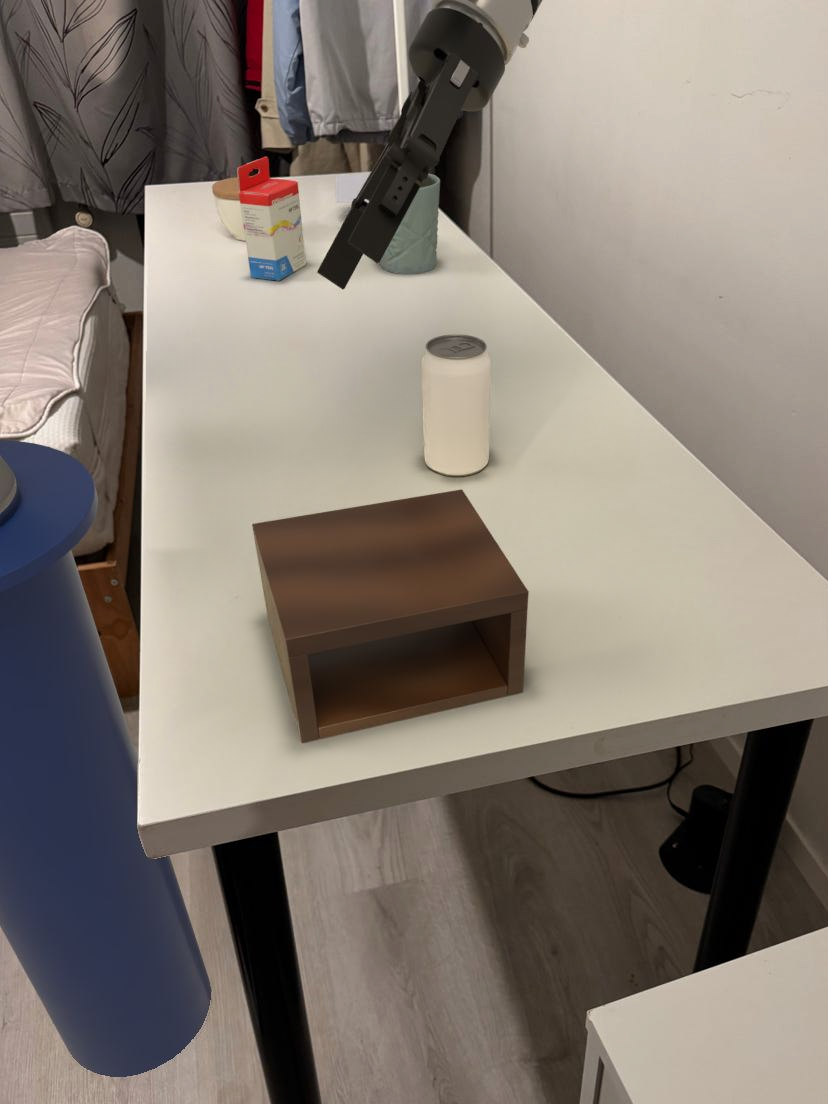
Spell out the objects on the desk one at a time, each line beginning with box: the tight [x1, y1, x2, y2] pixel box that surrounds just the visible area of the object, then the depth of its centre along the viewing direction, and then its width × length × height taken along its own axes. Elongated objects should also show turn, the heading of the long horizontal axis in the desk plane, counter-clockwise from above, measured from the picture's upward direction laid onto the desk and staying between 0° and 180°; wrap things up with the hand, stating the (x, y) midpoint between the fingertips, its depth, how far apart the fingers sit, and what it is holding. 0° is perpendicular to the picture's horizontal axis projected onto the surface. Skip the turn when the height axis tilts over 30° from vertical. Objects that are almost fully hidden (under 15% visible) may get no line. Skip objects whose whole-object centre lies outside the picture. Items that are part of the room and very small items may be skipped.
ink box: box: [236, 156, 307, 282], centre depth 133 cm, size 8×5×15 cm, turn 160°
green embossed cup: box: [379, 173, 441, 275], centre depth 137 cm, size 10×10×12 cm
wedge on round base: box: [334, 174, 370, 204], centre depth 159 cm, size 9×7×13 cm
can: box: [421, 333, 492, 477], centre depth 89 cm, size 6×6×12 cm
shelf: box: [251, 488, 529, 744], centre depth 67 cm, size 14×16×9 cm
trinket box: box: [211, 175, 272, 242], centre depth 148 cm, size 11×11×9 cm
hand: (345, 268), depth 77 cm, fingers open, 13 cm apart
